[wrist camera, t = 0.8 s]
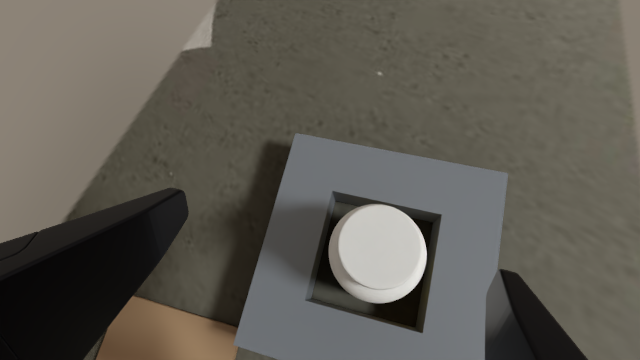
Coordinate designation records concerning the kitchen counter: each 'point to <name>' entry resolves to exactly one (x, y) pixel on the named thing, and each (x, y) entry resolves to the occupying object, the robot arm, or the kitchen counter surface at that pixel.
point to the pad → (166, 335)
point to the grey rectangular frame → (441, 267)
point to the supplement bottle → (377, 253)
